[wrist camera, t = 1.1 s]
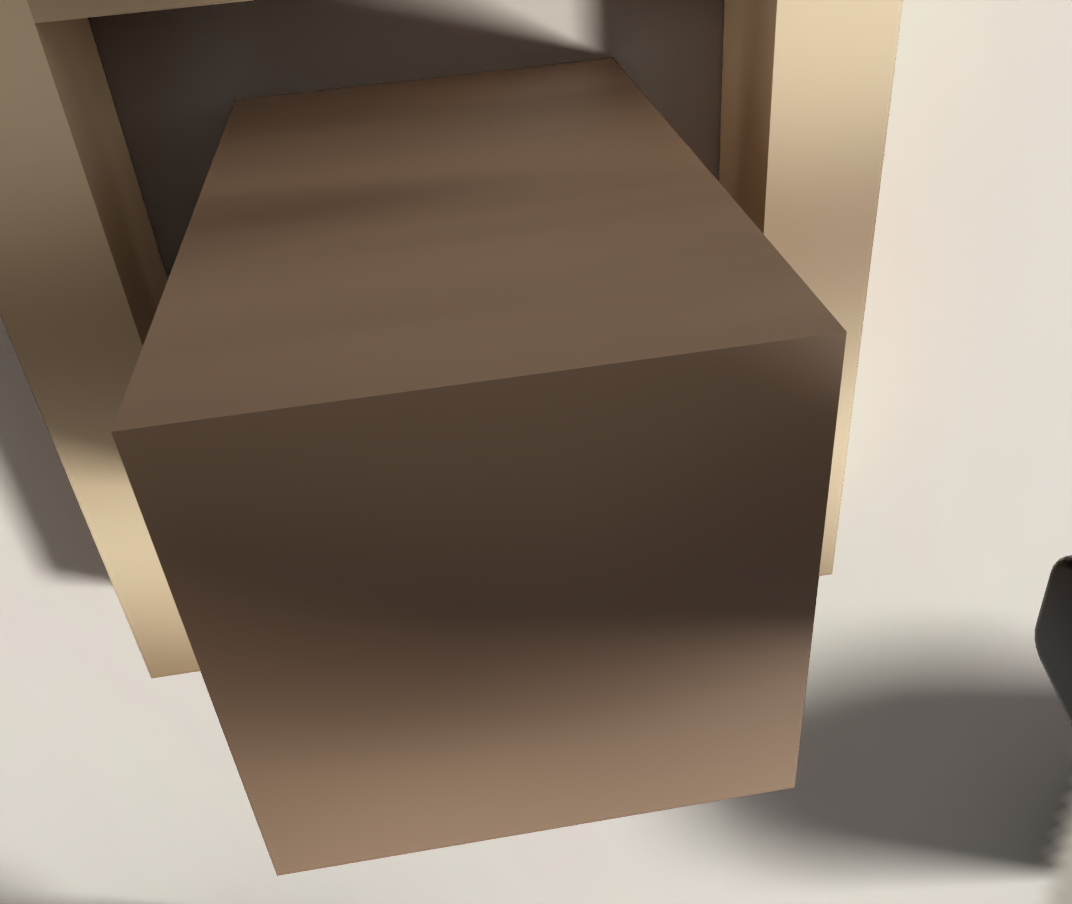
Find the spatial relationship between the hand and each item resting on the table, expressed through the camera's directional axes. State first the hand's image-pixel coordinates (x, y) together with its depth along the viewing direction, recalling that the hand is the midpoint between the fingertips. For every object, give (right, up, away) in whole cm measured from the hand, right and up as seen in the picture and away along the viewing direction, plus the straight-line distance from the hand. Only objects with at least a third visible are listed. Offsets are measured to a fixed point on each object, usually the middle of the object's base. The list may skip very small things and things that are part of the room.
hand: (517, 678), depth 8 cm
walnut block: (-1, +5, +7) cm, 8 cm away
